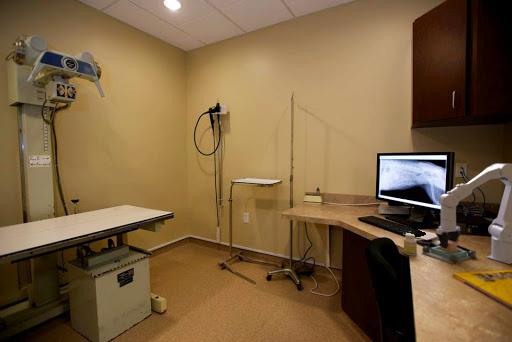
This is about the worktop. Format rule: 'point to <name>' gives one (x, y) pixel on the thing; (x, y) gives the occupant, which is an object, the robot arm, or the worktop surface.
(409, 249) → the supplement bottle
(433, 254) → the chassis
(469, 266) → the worktop surface
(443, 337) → the worktop surface
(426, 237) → the paper stack
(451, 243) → the block
